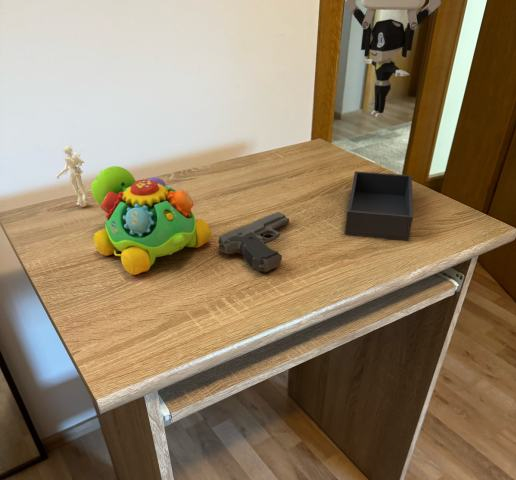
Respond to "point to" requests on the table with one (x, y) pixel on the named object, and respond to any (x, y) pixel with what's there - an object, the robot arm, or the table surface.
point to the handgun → (255, 242)
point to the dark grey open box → (380, 206)
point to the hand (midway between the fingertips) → (385, 54)
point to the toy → (385, 58)
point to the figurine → (75, 174)
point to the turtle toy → (144, 219)
